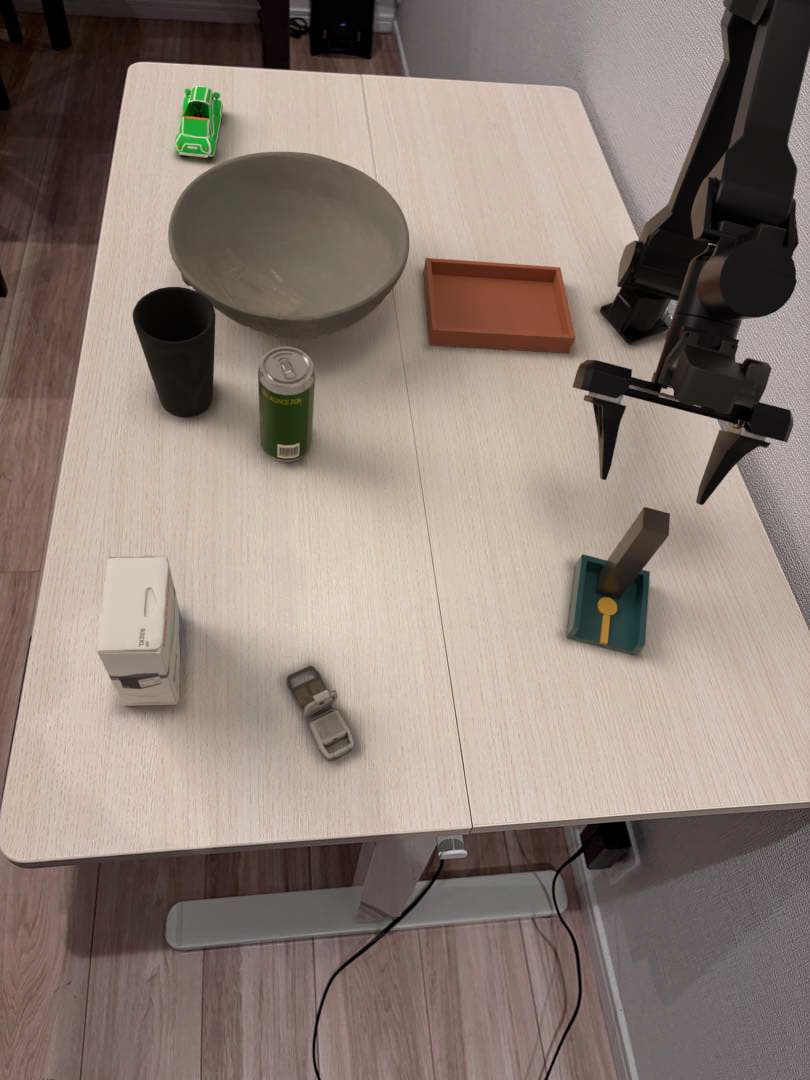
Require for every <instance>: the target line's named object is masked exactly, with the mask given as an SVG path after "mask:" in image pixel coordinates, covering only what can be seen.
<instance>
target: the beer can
mask: <svg viewBox="0 0 810 1080" xmlns="http://www.w3.org/2000/svg"><path fill="white" fill-rule="evenodd" d="M257 382H258V383H257V384H258V385H257V387H258V389H257V390H258V417H259V440H260V447H261V448H262V450H263V451H264V452H265V454H266V455H267V456H269V457H270V458H271V459H273V460H275V461H277V462H281V463H293V462H295V461H298V460H300V459H301V458H303V457H304V456H305V455H306V454H307V453H308V451H309V450H310V449H311V445H312V441H313V426H314V407H315V406H314V405H315V390H316V389H315V387H316V372H315V368H314V365H313V361H312V359H311V357H310V356H309V355H308V354H307V353H306V352H304V350H301V349H299V348H297V347H293V346H278V347H275V348H272V349H270V350H269V351H267V352H266V353H264V355H263V356H262V358H261V360H260V363H259V367H258V369H257Z"/></svg>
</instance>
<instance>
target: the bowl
mask: <svg viewBox="0 0 810 1080" xmlns="http://www.w3.org/2000/svg"><path fill="white" fill-rule="evenodd" d="M405 217H406V216H405V215H404V212H403V210H402V208H401V207H400V205H399V204H398V202H397V201H396V199H395V198H394V197H393V195H392V194H391V193H390V192H389V191H388V190H387V189H386V188H384V186H383V185H382V184H380V183H379V182H378V181H377V180H375V179H374V178H373V177H371V176H370V175H368V174H367V173H365V172H363V171H361V170H360V169H357V168H356V167H353V166H351V165H349V164H346V163H343V162H341V161H337V160H335V159H332V158H329V157H326V156H322V155H319V154H314V153H309V152H298V151H265V152H264V151H263V152H254V153H249V154H244V155H243V154H242V155H239V156H236V157H233V158H230V159H228V160H225V161H222V162H221V163H219V164H216V165H214V166H213V167H211V168H209V169H207V170H205V171H204V172H202V173H201V174H200V175H198V176H197V177H195V179H193V180H192V181H191V182H190V183H189V184H188V185H187V186H186V187H185V189H184V190H183V191H182V192H181V194H180V196H178V199H177V200H176V203H175V205H174V206H173V209H172V212H171V215H170V219H169V223H168V230H167V240H168V249H169V253H170V256H171V259H172V261H173V262H174V263H173V264H174V265H175V266H176V267H177V269H178V271H179V272H180V275H181V279H182V281H183V283H184V284H185V285H186V286H187V287H192V289H193V290H194V291H197V292H199V293H200V294H202V295H204V296H205V297H206V298H207V299H208V300H209V301H210V302H211V304H212V305H213V307H214V309H216V310H217V311H219V312H220V313H221V314H223V315H224V316H225V317H227V318H228V319H230V320H231V321H233V322H234V323H237V324H239V325H241V326H243V327H245V328H248V329H251V330H254V331H257V332H259V333H263V334H267V335H271V336H275V337H279V338H285V339H297V340H298V339H301V340H303V339H305V340H306V339H314V338H316V339H317V338H320V337H323V336H328V335H332V334H334V333H336V332H340V331H343V330H345V329H347V328H349V327H352V326H353V325H356V324H358V323H359V322H360V321H362V320H363V319H365V318H367V317H368V316H369V315H370V314H372V312H373V311H375V309H376V308H378V307H379V305H381V304H382V303H383V301H385V299H386V298H387V297H388V296H389V295H390V293H391V292H392V290H393V289H394V288H395V286H396V285H397V283H398V281H400V278H401V276H402V275H403V274H404V273H403V272H405V271H404V270H405V268H406V265H407V262H408V259H409V252H410V233H409V227H408V223H407V220H406V218H405Z"/></svg>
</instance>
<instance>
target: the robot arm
mask: <svg viewBox="0 0 810 1080" xmlns="http://www.w3.org/2000/svg"><path fill="white" fill-rule="evenodd" d="M722 4H723V7H724V8H725V9H724V12H723V15H722V17H721V20H720V33H721V41H722V49H723V50H722V51H723V61H722V63H721V66H720V68H719V71H718V72H717V75H716V78H715V80H714V84H713V86H712V89H711V91H710V94H709V95H708V98H707V102H706V104H705V107H704V109H703V112H702V115H701V118H700V119H699V122H698V125H697V128H696V129H695V133H694V135H693V138H692V141H691V143H690V146H689V148H688V151H687V154H686V156H685V159H684V161H683V163H682V166H681V169H680V172H679V175H678V177H677V179H676V181H675V185H674V187H673V190H672V192H671V195H670V198H669V200H668V203H667V204H666V205H665V206H664V207H663V208H661V210H659V211H658V212H657V213H655V214H654V215H653V216H652V217H651V218H650V219H649V220H647V221H646V222H645V223H644V226H643V227H642V231H641V233H640V235H639V238H638V239H637V240H635V239H634V240H633V241H631V242H630V243H628V244H626V245H625V246H624V250H623V252H622V255H621V258H620V260H619V264H618V273H617V283H616V287H619V288H620V289H619V291H618V292H617V293H616V295H615V297H614V300H613V302H610V303H607V304H604V305H602V306H600V308H599V312H600V313H601V315H602V316H603V317H604V318H605V320H607V322H608V323H609V324H610V325H611V327H613V329H615V331H616V332H617V333H618V334H619V335H620V337H621V338H622V339H623V340H624V341H625V342H626V343H627V344H629V345H632V344H636V343H638V342H641V341H643V340H646V339H649V338H651V337H654V336H657V335H658V334H659V335H660V334H662V333H665V335H664V340H665V341H664V344H663V347H662V350H661V353H660V356H659V359H658V363H657V366H656V369H655V372H653V374H652V377H651V379H650V381H649V380H645V379H642V378H637V377H633V376H632V374H633V369H632V368H628V367H624V366H621V365H616V364H613V363H608V362H606V361H601V360H598V359H586V360H584V361H583V362H581V363H580V364H579V365H578V368H577V370H576V374H575V377H574V380H573V384H572V388H574V389H577V390H582V391H586V392H588V393H587V394H588V395H586V394H584V396H583V401H584V402H587V403H590V404H592V407H593V413H594V419H595V424H596V430H597V440H598V441H597V442H598V462H599V463H598V464H599V465H598V466H599V479H601V480H602V481H606V480H607V479H608V476H609V473H610V470H611V467H612V463H613V458H614V454H615V449H616V445H617V440H618V435H619V429H620V424H621V421H622V419H623V416H624V414H625V411H626V408H627V405H624V404H621V402H622V399H623V398H624V397H628V398H629V397H630V398H633V399H636V400H641V401H645V402H648V403H652V404H655V405H660V406H664V407H668V408H672V409H676V410H680V411H683V412H687V413H691V414H692V413H693V414H695V415H699V416H702V417H707V418H711V419H714V420H719V421H723V422H727V423H728V427H727V430H723V429H719V430H718V433H717V435H716V438H715V440H714V444H713V447H712V450H711V452H710V456H709V458H708V461H707V464H706V466H705V469H704V472H703V475H702V477H701V480H700V483H699V486H698V490H697V496H696V499H695V500H696V501H695V503H696V504H697V505H701V506H703V505H705V503H706V502H707V501H708V500H709V499H710V497H711V496H712V494H713V493H714V492H715V491H716V489H717V488H718V487H719V485H720V484H721V483H722V482H723V480H724V479H725V478H726V477H727V475H728V474H729V473H730V472H731V471H732V469H733V468H734V467H735V466H736V465H737V464H738V463H739V462H740V461H741V460H742V459H743V458H744V457H745V456H747V455H748V454H749V453H751V452H752V451H754V450H756V449H757V448H759V447H761V448H765V449H768V448H769V447H770V446H771V444H772V442H769V441H766V439H772V440H776V441H778V442H779V441H780V442H784V443H788V441H789V439H790V436H791V434H792V433H791V432H792V431H793V428H794V416H793V414H792V411H791V409H787V408H783V407H780V406H777V405H772V404H768V403H766V402H765V403H764V402H760V401H761V400H762V397H763V395H764V393H765V391H766V389H767V385H768V382H769V378H770V376H771V372H772V367H771V365H770V363H768V362H766V361H763V360H759V359H754V358H750V357H747V358H745V359H744V360H743V361H742V362H737V361H736V354H737V351H738V348H739V342H740V339H737V336H738V334H739V331H740V327H741V324H742V321H743V320H751V319H757V318H763V317H768V316H771V314H774V313H776V312H777V311H779V310H780V309H781V308H783V307H784V306H785V305H786V304H787V303H788V301H789V300H790V298H791V297H792V295H793V293H794V291H795V288H796V285H797V269H796V265H795V261H794V258H793V256H794V252H795V250H796V249H797V247H798V246H799V234H798V232H799V231H798V225H797V224H798V223H797V217H796V216H797V215H796V213H797V201H796V199H795V198H794V195H795V190H796V184H797V183H796V182H797V177H798V176H797V175H798V166H797V164H796V162H795V159H794V157H793V155H792V152H791V149H790V147H789V140H790V135H791V131H792V130H791V129H792V126H793V122H794V118H795V113H796V110H797V109H796V108H797V105H798V100H799V96H800V91H801V87H802V83H803V79H804V75H805V71H806V66H807V63H808V58H809V54H810V0H722ZM672 300H673V301H676V306H675V309H674V312H673V315H672V318H671V321H670V325H669V326H668V324H667V323H666V321H664V320H663V319H662V318H663V316H664V314H665V312H666V310H667V308H668V307H669V305H670V303H671V301H672ZM668 388H669V389H672V390H673V394H668V393H665V392H662V389H663V390H668Z"/></svg>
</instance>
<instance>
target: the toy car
mask: <svg viewBox="0 0 810 1080" xmlns="http://www.w3.org/2000/svg"><path fill="white" fill-rule="evenodd" d="M184 94H185V95H186V96H185V97H183V100H182V116H181V118H180V122H179V123H180V124H179V128H178V133H177V134H176V136H175V139H174V150H175V153H177V155H178V156H188V157H196V158H206V159H213V158H214V157H215V154H216V149H217V145H218V140H219V133H220V128H221V122H222V117H223V110H224V105H223V101H221V100H219V99H220V97H221V94H220V92H217V91H214V92H213V89H212V88H210V87H209V86H206V85H205V86H204V85H194V86H192V88H191V89H190V88H185V89H184Z"/></svg>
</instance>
